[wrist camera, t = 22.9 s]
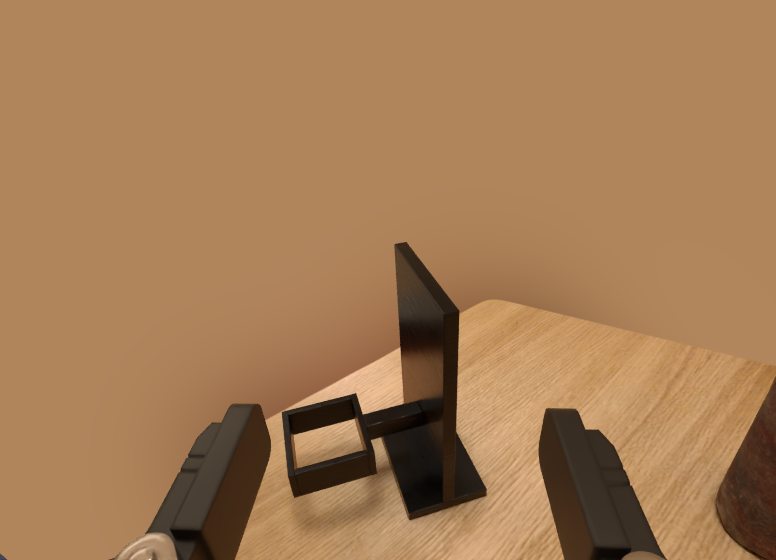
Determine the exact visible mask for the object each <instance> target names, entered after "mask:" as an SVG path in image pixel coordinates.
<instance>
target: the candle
mask: <svg viewBox="0 0 776 560" xmlns="http://www.w3.org/2000/svg"><path fill="white" fill-rule="evenodd" d="M716 501H717V508H718V510H719V514H720V516H721V520H722V522H723V526H724V528H725V529H726V531H727V532H728V533H729V535H730V536H731V537H732V538H734V539H735V540H736V541H737V542H738V543H740V544H741V545H742V546H744V547H746V548H748V549H749V550H752V551H754V552H755V553H757V554H759V555H761V556H762V557H764V558H766V559H769V560H776V377H775V379H774V382H773V384H772V386H771V388H770V390H769V392H768V394H767V396H766V398H765V400H764V402H763V403H762V405H761V407H760V409H759V411H758V413H757V415H756V417H755V419H754V421H753V423H752V425H751V427H750V429H749V431H748V433H747V435H746V437H745V438H744V440H743V442H742V444H741V446H740V448H739V450H738V452H737V454H736V456H735V458H734V459H733V461H732V463H731V465H730V467H729V469H728V471H727V473H726V475H725V477H724V480H723V482H722V484H721V486H720V488H719V490H718V493H717V498H716Z"/></svg>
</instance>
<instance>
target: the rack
mask: <svg viewBox="0 0 776 560" xmlns="http://www.w3.org/2000/svg"><path fill="white" fill-rule="evenodd" d="M395 262H396V279H397V295H398V311H399V312H398V313H399V330H400V346H401V363H402V380H403V397H404V404H402V405H398V406H394V407H390V408H387V409H383V410H379V411H375V412H371V413H368V414H364V415H363V414H362V411H361V407H360V404H359V401H358V398H357V394H356V393H355V394H351V395H348V396H344V397H340V398H336V399H332V400H328V401H324V402H320V403H316V404H312V405H308V406H304V407H300V408H296V409H292V410H288V411H284V412H282V419H283V429H284V440H285V450H286V460H287V470H288V478H289V482H290V485H291V489H292V492H293V496H294V498H296V497H299V496H302V495H306V494H309V493H313V492H316V491H319V490H323V489H326V488H330V487H333V486H336V485H340V484H343V483H347V482H350V481H353V480H357V479H360V478H364V477H367V476H370V475H374V474H377V470H376V461H375V453H374V449H373V446H372V443H371V440H373V439H376V438H380V437H381V438H382V441H383V444H384V447H385V450H386V452H387V455H388V458H389V461H390V464H391V467H392V470H393V473H394V476H395V479H396V482H397V485H398V488H399V491H400V494H401V497H402V500H403V503H404V506H405V509H406V512H407V515H408V518H409V520H411V519H414V518H417V517H420V516H423V515H426V514H429V513H432V512H435V511H439V510H442V509H445V508H448V507H451V506H454V505H457V504H460V503H463V502H467V501H470V500H473V499H476V498H479V497H482V496H485V495H486V490H487V489H486V487H485V485H484V483H483V482H482V480H481V478H480V476H479V474H478V472H477V470H476V468H475V466H474V465H473V463H472V461H471V459H470V457H469V455H468V453H467V451H466V449H465V448H464V446H463V444H462V442H461V440H460V438H459V436H458V434H457V432H456V413H457V376H458V340H459V310H458V309H457V307H456V306H455V305H454V304H453V302H452V301H451V300H450V298H449V297H448V296H447V294H446V293H445V292H444V291H443V289H442V288H441V286H440V285H439V284H438V283H437V281H436V280H435V279H434V277H433V276H432V275H431V273H430V272H429V271H428V270H427V268H426V267H425V266H424V264H423V263H422V262H421V260H420V259H419V258H418V257H417V255H416V254H415V253H414V251H413V250H412V249H411V247H410V246H409V245H408V244H407V242H404V243H398V244H395ZM354 418H355V422H356V426H357V429H358V433H359V436H360V440H361V443H362V447H363V450H362V451H359V452H355V453H352V454H348V455H344V456H341V457H337V458H334V459H330V460H327V461H323V462H319V463H316V464H312V465H309V466H305V467H302V468H298V469H297V461H296V452H295V444H294V436H293V434H294V435H295V434H299V433H303V432H306V431H310V430H314V429H318V428H321V427H325V426H329V425H333V424H337V423H340V422H344V421H348V420H352V419H354Z"/></svg>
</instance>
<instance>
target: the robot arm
mask: <svg viewBox="0 0 776 560" xmlns="http://www.w3.org/2000/svg"><path fill="white" fill-rule="evenodd" d="M270 452H271V440H270V435H269V432H268V429H267V425H266V422H265V418H264V415H263V412H262V408H261V406H260V405H259V404H232V405H231V406H230V407H229V408H228V410H227V412H226V414H225V416H224V419H223V421H222V422H221V423H211V424H210V425H209V426H208V427H207V428H206V429H205V430H204V431H203V433H201V434H200V435H199V436H198V437H197V439H196V441H195V443H194V445H193V447H192V448H191V451H190V452H189V454H188V458H186V460H185V462H184V464H183V465H182V467H181V472H180V473H178V475H177V477H176V479H175V481H174V483H173V484H172V486H171V488H170V490H169V492H168V494H167V496H166V497H165V499H164V502H163V503H162V505H161V507H160V509H159V511H158V513H157V515H156V516H155V518H154V520H153V522H152V524H151V526H150V527H149V529H148V531H147V532H146V533H145V535H143V536H140V537H138V538H136V539H135V540H133V541H132V542H130V543H129V544H128V545H126V546H125V547H124V548H123V549H122V550H121V551H120V552H119V554H118V555H117V556H116V557H115V558H113V559H110V560H235V557H236V554H237V552H238V549H239V546H240V543H241V540H242V537H243V534H244V531H245V528H246V525H247V522H248V520H249V517H250V514H251V511H252V508H253V505H254V502H255V499H256V496H257V493H258V490H259V487H260V485H261V482H262V479H263V476H264V473H265V470H266V467H267V464H268V461H269V457H270ZM539 462H540V467H541V472H542V475H543V479H544V483H545V487H546V491H547V494H548V498H549V502H550V506H551V510H552V514H553V517H554V521H555V525H556V529H557V533H558V536H559V540H560V544H561V548H562V552H563V556H564V559H565V560H667V559H666V558H665V556H664V555H663V553H662V552H661V550H660V548H659V546H658V544H657V541H656V539H655V537H654V535H653V533H652V530H651V528H650V526H649V524H648V521H647V519H646V517H645V515H644V512H643V510H642V508H641V506H640V503H639V501H638V499H637V497H636V494H635V492H634V490H633V488H632V486H630V481H629V479H628V476H627V474H626V472H625V470H623V465H622V463H621V461H620V458H619V456H618V454H617V452H616V449H615V447H614V446H613V445H612V444H611V443H610V441H609V440H608V439H607V438H606V437H605V436H604V435H603V434H602V433H601V432H600V431H599V430H585V428H584V425H583V422H582V420H581V417H580V415H579V413H578V411H577V410H576V409H557V408H547V409H546V411H545V414H544V420H543V425H542V430H541V436H540V441H539Z"/></svg>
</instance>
